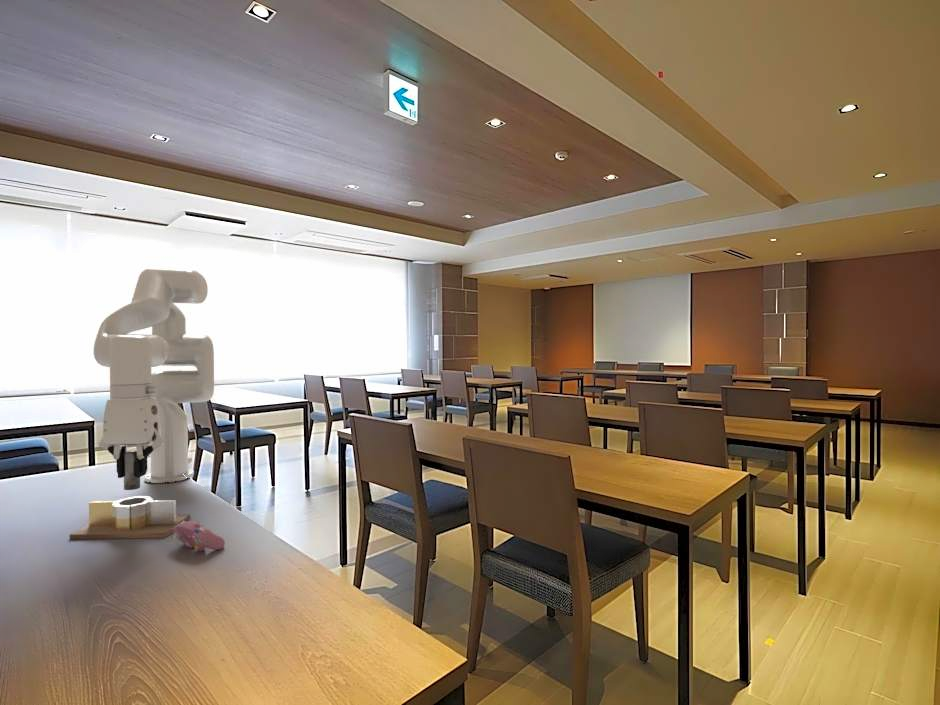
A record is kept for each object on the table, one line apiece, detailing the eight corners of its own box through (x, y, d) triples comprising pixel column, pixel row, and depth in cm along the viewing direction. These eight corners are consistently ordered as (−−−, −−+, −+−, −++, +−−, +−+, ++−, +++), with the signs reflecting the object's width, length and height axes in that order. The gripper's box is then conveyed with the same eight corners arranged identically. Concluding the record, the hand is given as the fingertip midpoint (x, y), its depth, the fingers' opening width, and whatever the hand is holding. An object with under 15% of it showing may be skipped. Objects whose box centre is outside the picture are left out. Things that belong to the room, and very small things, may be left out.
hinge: (101, 518, 114) (101, 496, 114) (183, 517, 115) (182, 495, 115) (79, 531, 107) (78, 507, 107) (166, 529, 108) (166, 506, 108)
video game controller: (178, 552, 103) (162, 527, 100) (197, 535, 106) (182, 510, 103) (210, 562, 98) (195, 536, 95) (228, 544, 102) (214, 519, 99)
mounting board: (104, 519, 116) (104, 515, 116) (190, 518, 117) (190, 514, 117) (69, 539, 105) (69, 534, 105) (165, 537, 106) (165, 532, 106)
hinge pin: (128, 486, 112) (128, 450, 112) (143, 486, 112) (143, 450, 112) (120, 490, 109) (120, 453, 109) (135, 490, 109) (135, 453, 109)
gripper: (178, 390, 114) (179, 471, 115) (103, 390, 113) (104, 472, 113) (160, 394, 107) (161, 480, 107) (79, 394, 105) (81, 481, 106)
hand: (132, 475), depth 110 cm, fingers closed on hinge pin, 2 cm apart
